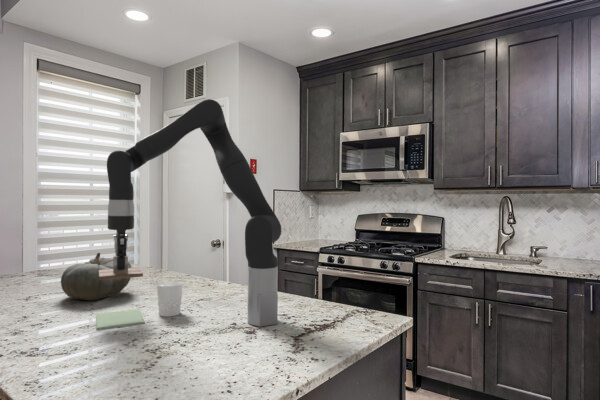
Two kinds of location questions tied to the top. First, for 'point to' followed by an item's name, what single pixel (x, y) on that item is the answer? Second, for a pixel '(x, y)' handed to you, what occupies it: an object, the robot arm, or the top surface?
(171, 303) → the white cup
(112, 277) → the lid
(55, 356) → the top surface
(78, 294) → the gourd
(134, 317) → the mat
